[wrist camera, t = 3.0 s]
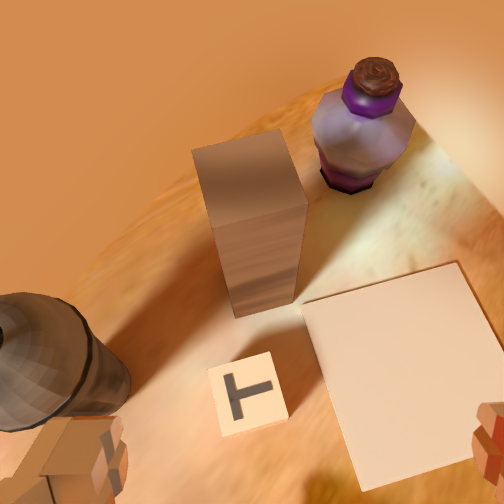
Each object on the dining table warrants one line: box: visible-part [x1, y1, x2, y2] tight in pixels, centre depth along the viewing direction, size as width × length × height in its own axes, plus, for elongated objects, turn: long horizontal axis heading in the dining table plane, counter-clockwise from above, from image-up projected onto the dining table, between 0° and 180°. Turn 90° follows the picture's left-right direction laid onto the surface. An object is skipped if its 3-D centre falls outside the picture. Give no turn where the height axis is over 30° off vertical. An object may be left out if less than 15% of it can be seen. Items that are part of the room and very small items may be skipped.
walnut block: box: [191, 129, 309, 319], centre depth 29 cm, size 5×5×16 cm
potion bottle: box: [311, 57, 416, 195], centre depth 35 cm, size 9×9×12 cm
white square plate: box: [300, 262, 504, 492], centre depth 33 cm, size 14×14×1 cm
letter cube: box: [208, 351, 289, 439], centre depth 30 cm, size 4×4×5 cm
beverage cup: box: [0, 292, 131, 433], centre depth 24 cm, size 7×7×20 cm
